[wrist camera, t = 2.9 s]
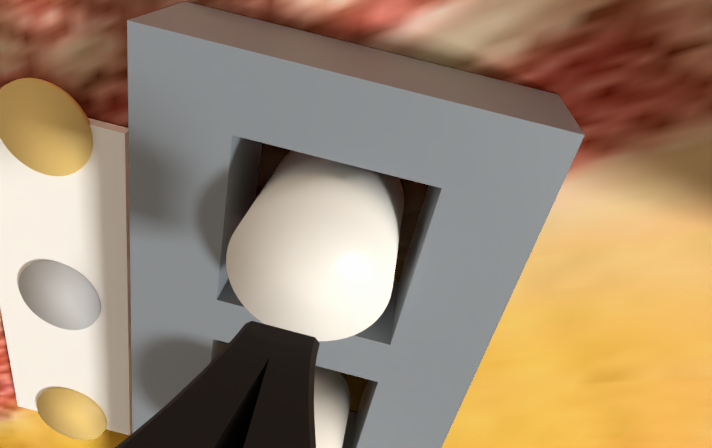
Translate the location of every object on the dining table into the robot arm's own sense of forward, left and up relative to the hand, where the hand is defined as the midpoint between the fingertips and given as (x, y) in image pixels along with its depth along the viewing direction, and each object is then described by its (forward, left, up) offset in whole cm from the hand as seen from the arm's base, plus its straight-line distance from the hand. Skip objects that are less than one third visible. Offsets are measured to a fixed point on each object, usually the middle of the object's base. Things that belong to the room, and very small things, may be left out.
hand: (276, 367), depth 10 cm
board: (-6, 0, -7) cm, 10 cm away
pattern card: (-6, +9, -7) cm, 13 cm away
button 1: (0, 0, -7) cm, 7 cm away
